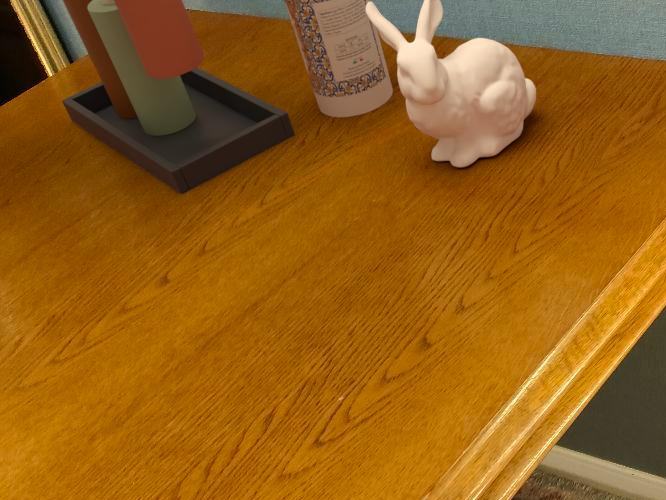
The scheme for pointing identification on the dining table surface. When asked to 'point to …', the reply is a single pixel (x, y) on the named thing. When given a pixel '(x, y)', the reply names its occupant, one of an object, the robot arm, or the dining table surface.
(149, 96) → the sage bottle
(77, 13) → the amber bottle
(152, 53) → the terracotta bottle
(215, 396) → the dining table surface
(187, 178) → the tray
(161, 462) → the dining table surface
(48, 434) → the dining table surface
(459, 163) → the rabbit
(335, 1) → the bath foam
